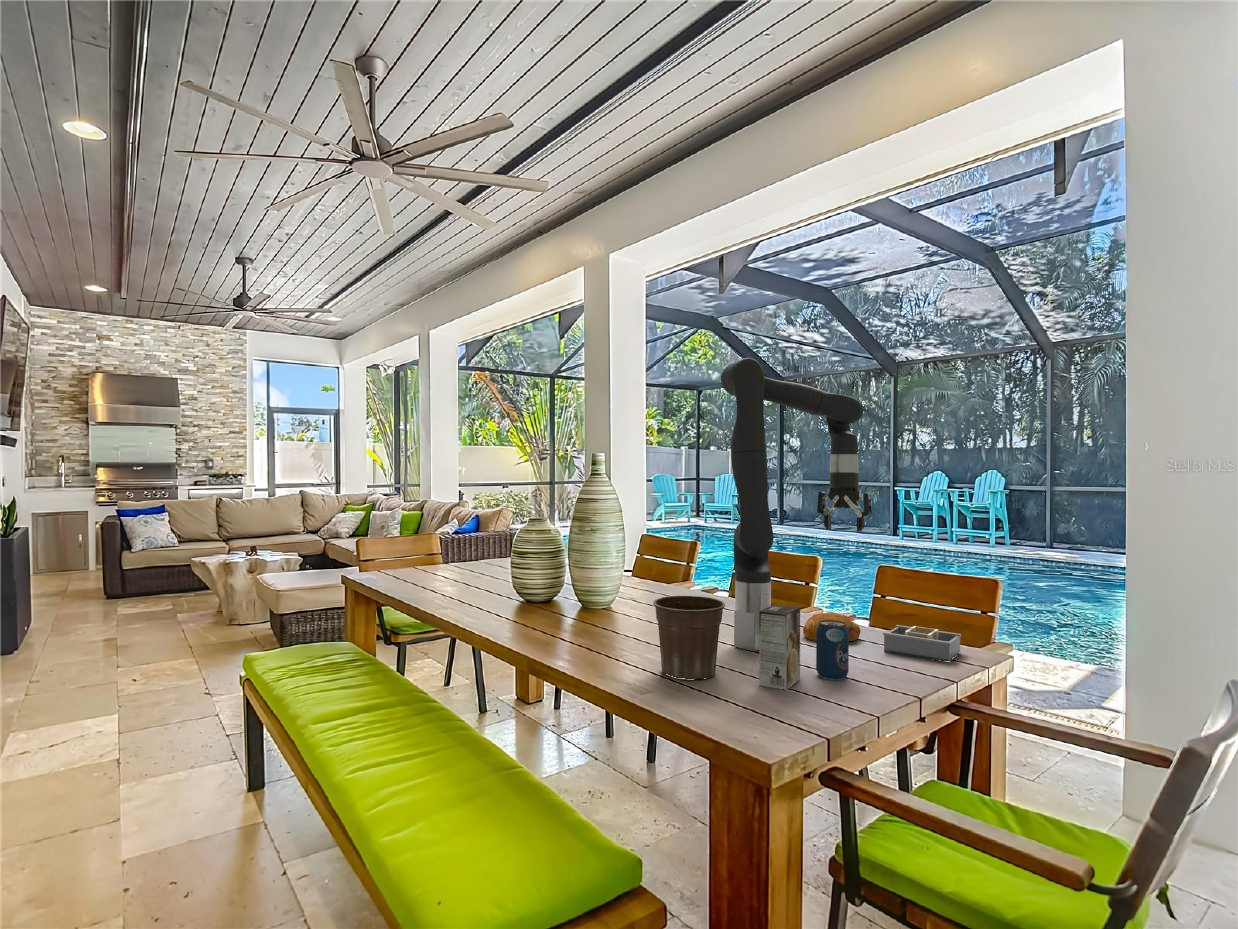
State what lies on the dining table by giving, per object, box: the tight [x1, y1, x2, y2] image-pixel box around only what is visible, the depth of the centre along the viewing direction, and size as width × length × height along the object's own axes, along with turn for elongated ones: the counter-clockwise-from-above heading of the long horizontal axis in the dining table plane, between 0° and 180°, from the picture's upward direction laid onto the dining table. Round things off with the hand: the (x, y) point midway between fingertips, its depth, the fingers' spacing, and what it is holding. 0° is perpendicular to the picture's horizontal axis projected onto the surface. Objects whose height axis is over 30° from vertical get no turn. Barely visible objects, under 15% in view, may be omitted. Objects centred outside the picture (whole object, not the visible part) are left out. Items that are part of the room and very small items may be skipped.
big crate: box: [882, 624, 962, 662], centre depth 172 cm, size 12×16×5 cm
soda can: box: [815, 620, 850, 681], centre depth 151 cm, size 7×7×12 cm
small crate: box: [905, 625, 939, 640], centre depth 172 cm, size 8×6×5 cm
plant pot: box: [652, 595, 726, 680], centre depth 153 cm, size 16×16×16 cm
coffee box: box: [758, 604, 801, 691], centre depth 146 cm, size 9×6×16 cm
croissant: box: [802, 612, 861, 642], centre depth 188 cm, size 14×16×8 cm
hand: (843, 530), depth 185 cm, fingers open, 8 cm apart
